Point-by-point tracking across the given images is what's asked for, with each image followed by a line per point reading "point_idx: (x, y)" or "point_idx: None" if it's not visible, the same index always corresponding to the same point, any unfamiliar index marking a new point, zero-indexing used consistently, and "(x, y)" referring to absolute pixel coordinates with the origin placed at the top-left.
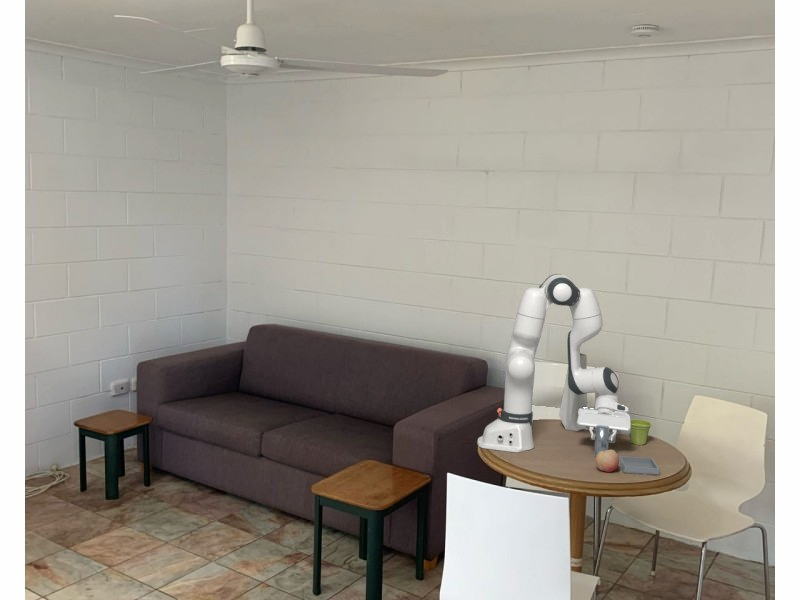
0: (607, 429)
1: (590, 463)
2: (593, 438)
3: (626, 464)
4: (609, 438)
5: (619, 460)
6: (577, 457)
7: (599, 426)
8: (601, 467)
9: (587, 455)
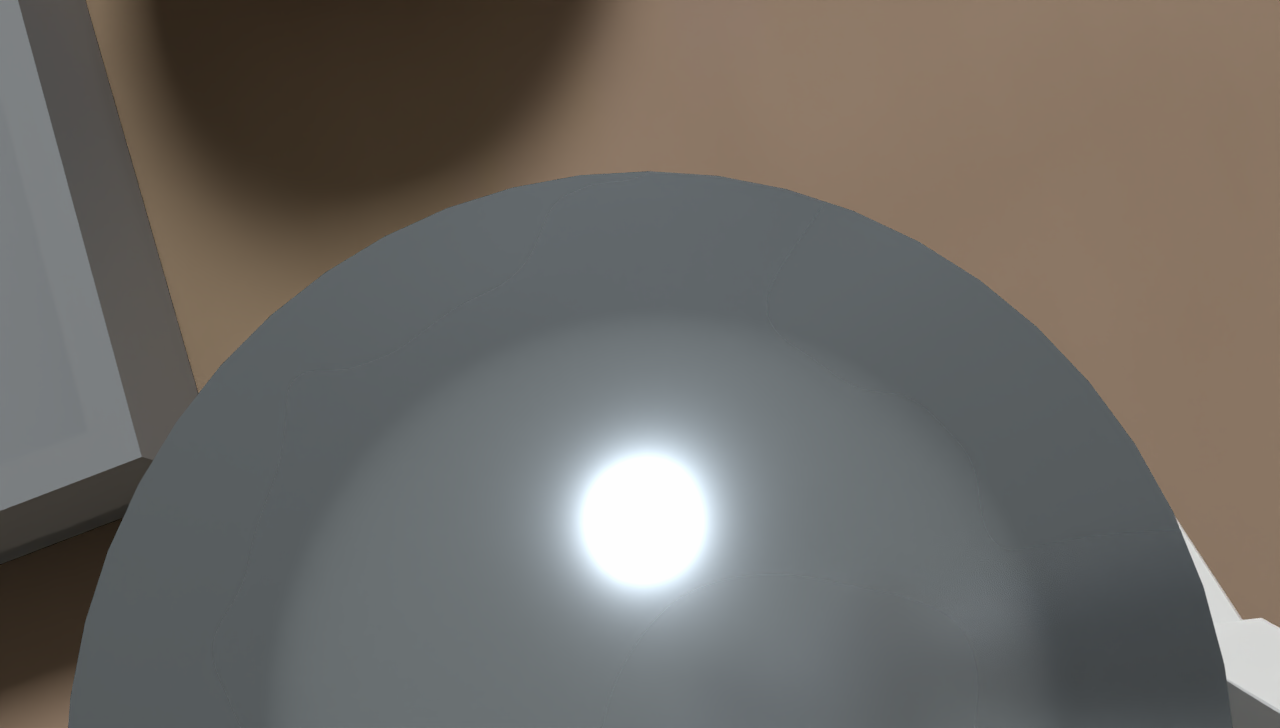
0: (210, 433)
1: (800, 35)
2: None
3: (6, 296)
4: None
5: (158, 369)
6: (1219, 292)
7: (900, 661)
8: None
9: None
